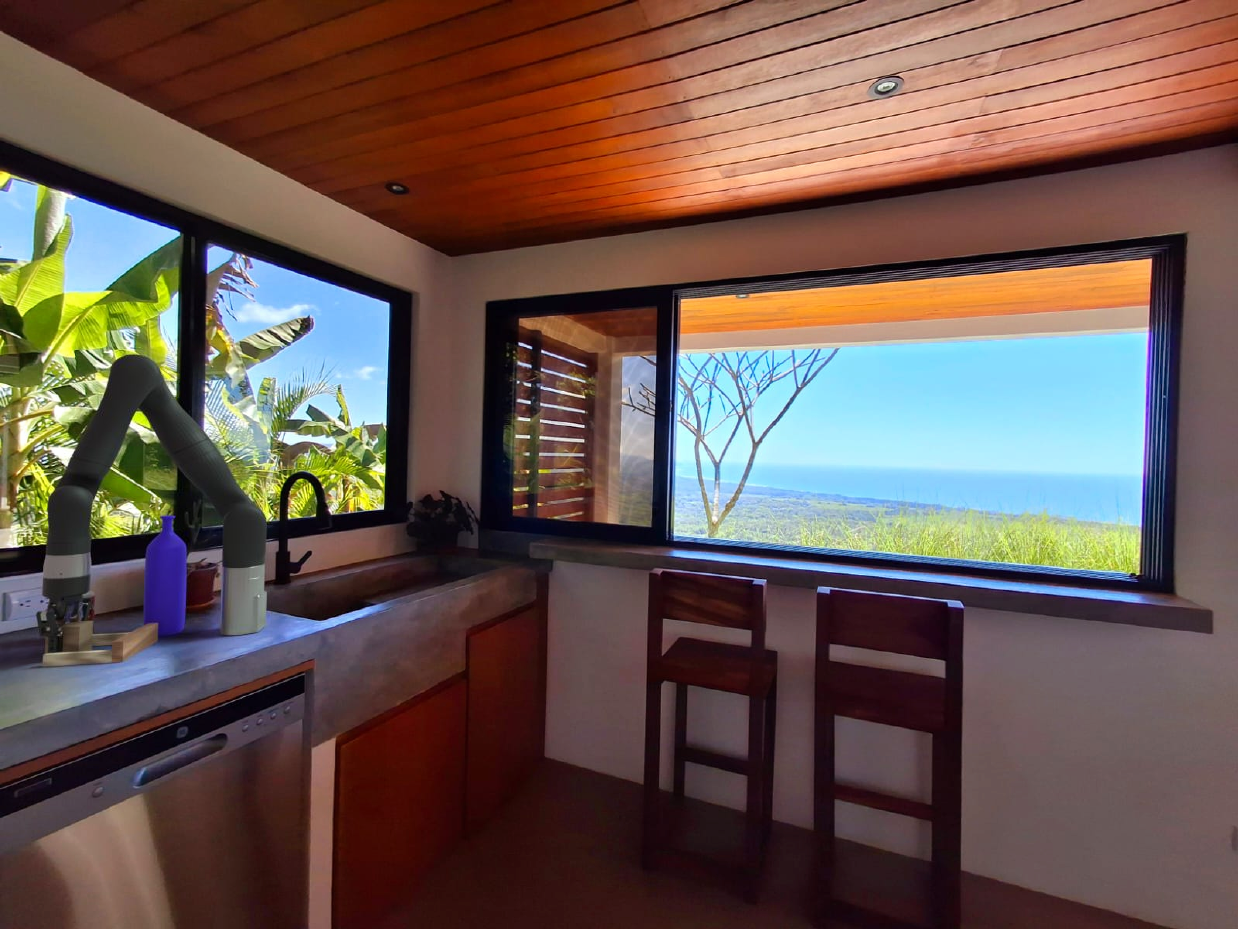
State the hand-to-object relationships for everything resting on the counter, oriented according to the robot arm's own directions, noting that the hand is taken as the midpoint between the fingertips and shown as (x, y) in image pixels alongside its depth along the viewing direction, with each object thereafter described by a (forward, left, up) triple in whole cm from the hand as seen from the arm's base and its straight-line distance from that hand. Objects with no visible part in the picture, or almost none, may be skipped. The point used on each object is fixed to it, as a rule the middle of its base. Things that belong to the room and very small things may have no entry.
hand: (63, 649), depth 121 cm
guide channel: (-7, 0, -1) cm, 8 cm away
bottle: (-12, -15, -2) cm, 19 cm away
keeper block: (-1, 0, -1) cm, 2 cm away
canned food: (+6, -13, -2) cm, 14 cm away
